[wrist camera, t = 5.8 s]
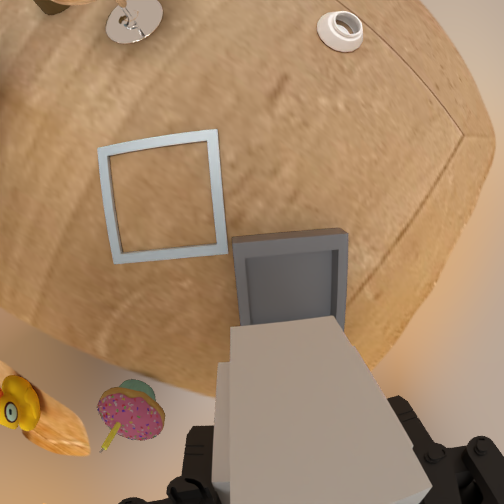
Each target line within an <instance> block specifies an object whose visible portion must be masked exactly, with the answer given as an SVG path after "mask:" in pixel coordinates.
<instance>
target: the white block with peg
mask: <svg viewBox="0 0 504 504" xmlns="http://www.w3.org/2000/svg"><path fill="white" fill-rule="evenodd" d="M431 488H432V484H431V483H430V481H429V479H428V477H427V475H426V473H425V471H424V469H423V468H422V466H421V464H420V462H419V460H418V458H417V457H416V455H415V453H414V451H413V449H412V448H411V446H410V444H409V442H408V440H407V439H406V437H405V435H404V433H403V431H402V430H401V428H400V426H399V424H398V423H397V421H396V419H395V417H394V416H393V414H392V412H391V410H390V409H389V407H388V405H387V404H386V402H385V400H384V398H383V397H382V395H381V393H380V392H379V390H378V388H377V387H376V385H375V383H374V381H373V380H372V378H371V376H370V375H369V373H368V371H367V370H366V368H365V366H364V365H363V363H362V361H361V360H360V358H359V356H358V355H357V353H356V352H355V350H354V348H353V347H352V345H351V343H350V342H349V340H348V338H347V337H346V335H345V334H344V332H343V330H342V329H341V327H340V326H339V324H338V322H337V321H336V319H335V317H334V316H325V317H318V318H311V319H303V320H294V321H286V322H277V323H268V324H258V325H247V326H236V327H230V504H419V503H420V502H421V500H422V499H423V498H424V497H425V495H426V494H427V493H428V492H429V490H430V489H431Z"/></svg>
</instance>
